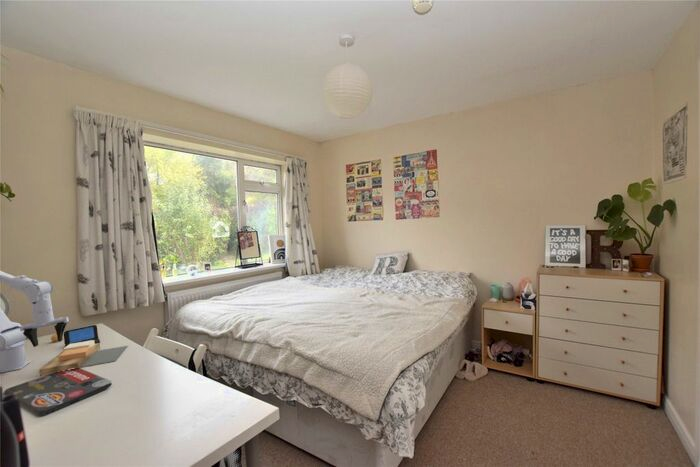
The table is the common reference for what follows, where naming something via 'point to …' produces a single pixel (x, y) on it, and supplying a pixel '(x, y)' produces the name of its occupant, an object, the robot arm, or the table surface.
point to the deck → (66, 362)
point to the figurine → (55, 335)
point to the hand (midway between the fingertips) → (48, 343)
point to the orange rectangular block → (75, 353)
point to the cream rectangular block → (79, 345)
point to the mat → (104, 356)
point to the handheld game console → (81, 335)
